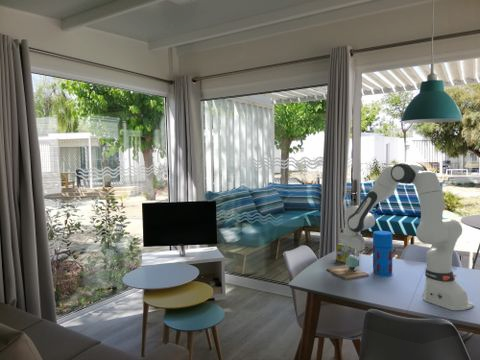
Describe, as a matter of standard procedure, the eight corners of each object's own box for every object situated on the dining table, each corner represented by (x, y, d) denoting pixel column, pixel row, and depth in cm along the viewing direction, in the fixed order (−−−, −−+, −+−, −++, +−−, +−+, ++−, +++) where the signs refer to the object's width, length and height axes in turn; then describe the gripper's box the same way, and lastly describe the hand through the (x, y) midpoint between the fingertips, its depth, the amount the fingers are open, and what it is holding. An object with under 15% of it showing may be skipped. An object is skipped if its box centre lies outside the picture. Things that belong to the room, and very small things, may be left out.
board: (368, 276, 220) (368, 273, 220) (344, 280, 215) (344, 277, 215) (348, 266, 239) (348, 264, 239) (325, 270, 233) (325, 267, 233)
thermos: (389, 270, 228) (389, 230, 227) (394, 276, 218) (394, 234, 216) (371, 270, 230) (370, 230, 228) (375, 276, 219) (375, 234, 217)
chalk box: (335, 261, 252) (335, 239, 251) (343, 258, 258) (343, 237, 257) (348, 263, 245) (348, 241, 244) (355, 260, 251) (355, 239, 250)
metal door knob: (358, 270, 227) (358, 259, 226) (351, 271, 225) (351, 260, 225) (353, 268, 232) (353, 257, 231) (346, 269, 230) (346, 258, 229)
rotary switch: (359, 265, 226) (359, 256, 226) (351, 267, 225) (351, 257, 224) (353, 263, 232) (353, 253, 231) (345, 264, 230) (345, 255, 229)
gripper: (367, 235, 218) (367, 258, 219) (346, 228, 237) (346, 249, 238) (358, 236, 216) (358, 259, 217) (338, 229, 235) (338, 250, 236)
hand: (352, 254), depth 228 cm, fingers open, 8 cm apart
